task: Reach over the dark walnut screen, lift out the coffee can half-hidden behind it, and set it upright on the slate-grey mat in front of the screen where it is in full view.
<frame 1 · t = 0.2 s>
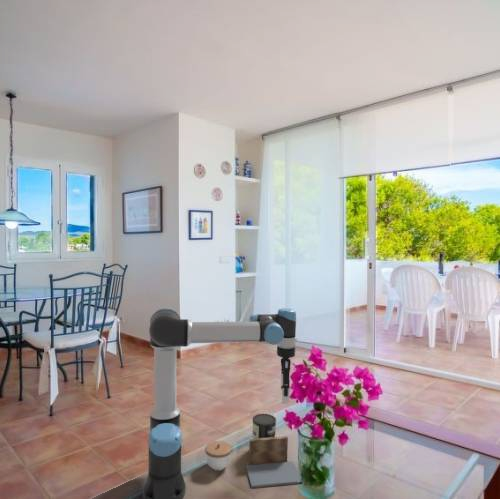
hand: (284, 396, 167), 27 cm above the table, tool pointing down, fingers open, 13 cm apart
slate mat: (273, 474, 158), on the table
lidded jar: (218, 466, 163), on the table
coffee can: (263, 450, 176), on the table
walnut screen: (268, 461, 167), on the table
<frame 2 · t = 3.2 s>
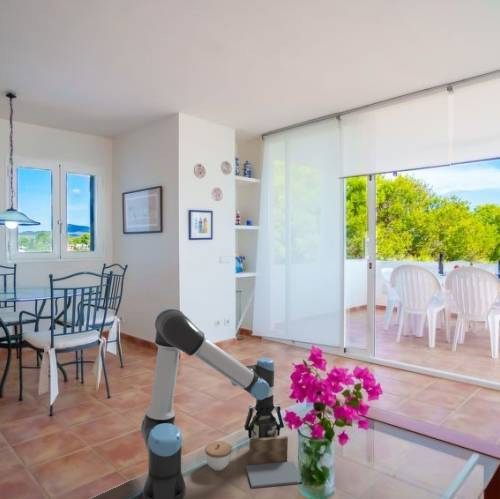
hand: (263, 443, 175), 3 cm above the table, tool pointing down, fingers closed on coffee can, 10 cm apart
coffee can: (263, 450, 176), on the table, touching gripper
everything else where it was.
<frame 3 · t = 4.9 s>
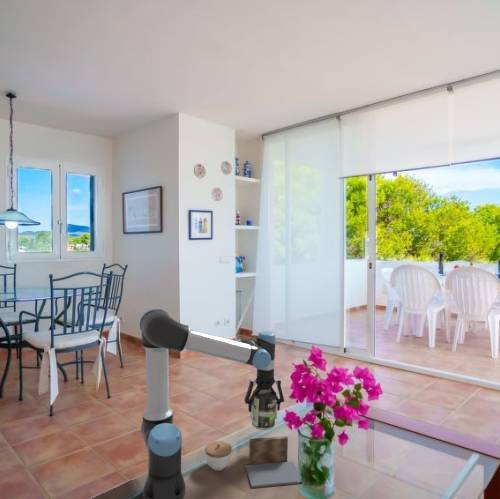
hand: (263, 418, 175), 14 cm above the table, tool pointing down, fingers closed on coffee can, 10 cm apart
coffee can: (263, 424, 175), point 11 cm above the table, touching gripper
everything else where it was.
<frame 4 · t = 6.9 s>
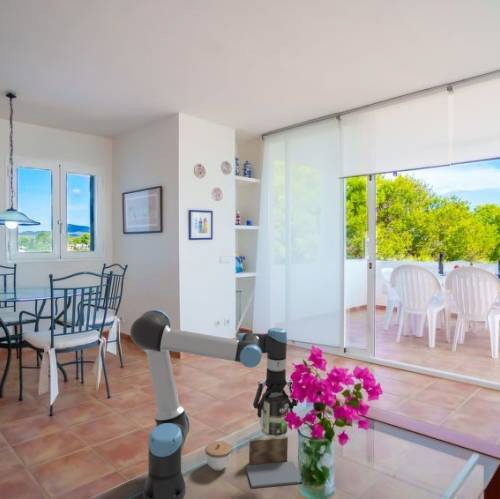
hand: (274, 424, 157), 21 cm above the table, tool pointing down, fingers closed on coffee can, 10 cm apart
coffee can: (274, 431, 157), point 18 cm above the table, touching gripper
everything else where it was.
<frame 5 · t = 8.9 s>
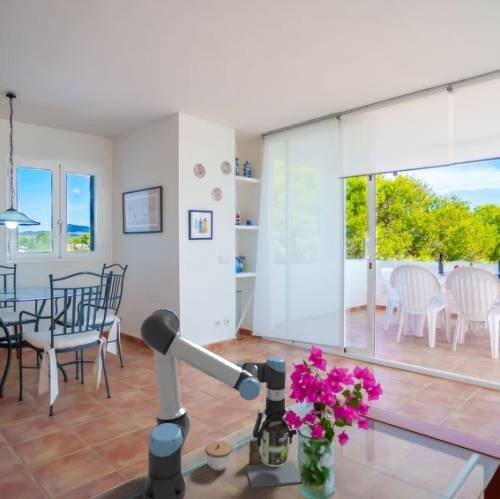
hand: (274, 452, 157), 9 cm above the table, tool pointing down, fingers closed on coffee can, 10 cm apart
coffee can: (274, 459, 158), point 6 cm above the table, touching gripper
everything else where it was.
when the fingers open (5 cm above the table, at t = 10.4 s): coffee can drops 1 cm, resting on slate mat.
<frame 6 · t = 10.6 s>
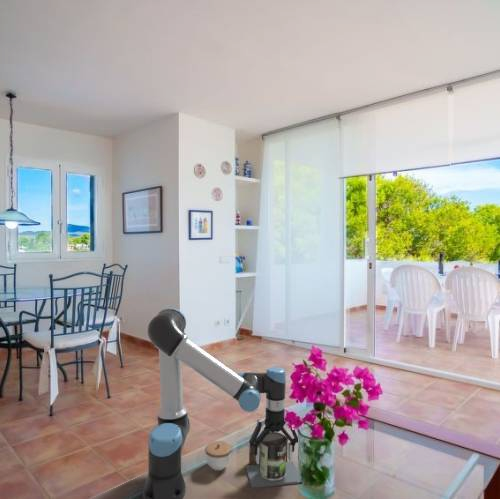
hand: (273, 460, 158), 6 cm above the table, tool pointing down, fingers open, 12 cm apart
coffee can: (272, 473, 158), point 1 cm above the table, touching slate mat
everything else where it was.
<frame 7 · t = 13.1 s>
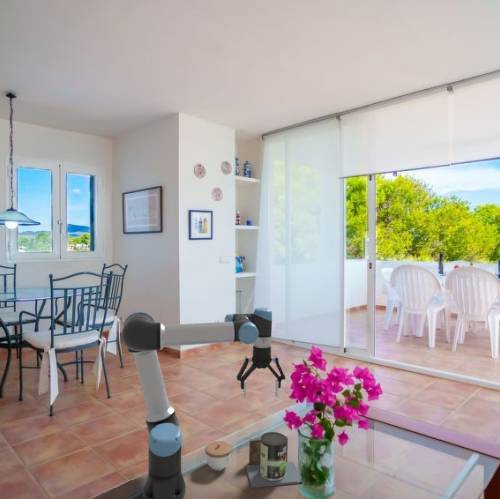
hand: (260, 396, 166), 28 cm above the table, tool pointing down, fingers open, 13 cm apart
nothing on the table moved.
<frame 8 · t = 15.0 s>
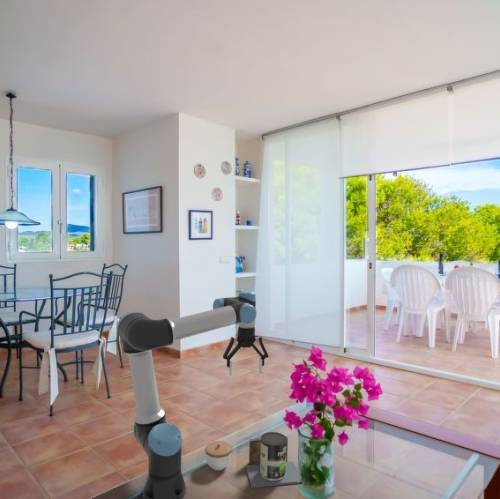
hand: (245, 373, 177), 33 cm above the table, tool pointing down, fingers open, 13 cm apart
nothing on the table moved.
at the end: coffee can inside the target area on the slate mat (0.3 cm from its centre), point 0.6 cm above the slate mat's base; coffee can tilted 0°; the gripper is holding nothing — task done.
